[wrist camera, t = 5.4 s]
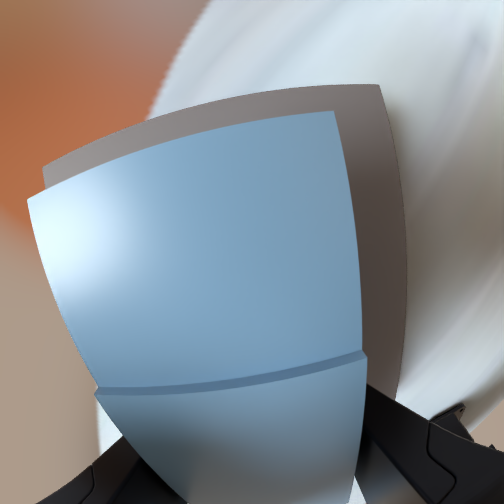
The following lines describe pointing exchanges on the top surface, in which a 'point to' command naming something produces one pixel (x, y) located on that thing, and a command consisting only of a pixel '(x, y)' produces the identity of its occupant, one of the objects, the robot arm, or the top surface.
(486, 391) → the top surface
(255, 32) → the top surface
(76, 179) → the light blue bar
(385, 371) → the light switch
